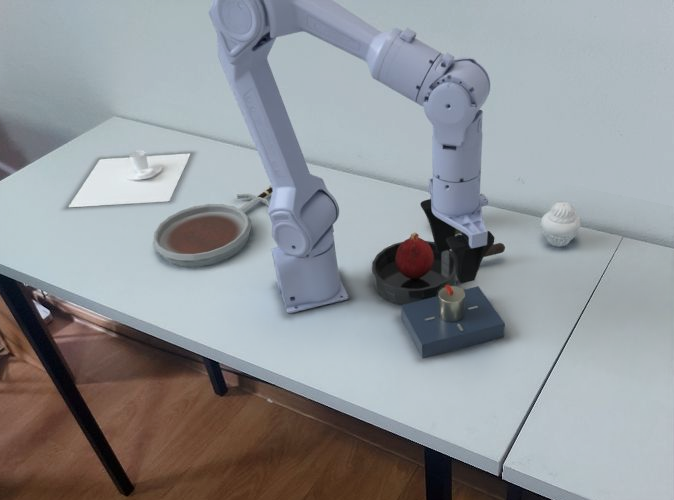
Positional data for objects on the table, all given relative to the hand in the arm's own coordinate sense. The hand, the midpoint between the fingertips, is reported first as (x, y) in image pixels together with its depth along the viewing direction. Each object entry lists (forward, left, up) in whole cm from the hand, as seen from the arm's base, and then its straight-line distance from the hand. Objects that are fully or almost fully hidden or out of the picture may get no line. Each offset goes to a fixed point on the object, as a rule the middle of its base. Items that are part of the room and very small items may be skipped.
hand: (455, 264), depth 88 cm
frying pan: (-28, +39, -10) cm, 49 cm away
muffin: (+23, +12, -10) cm, 28 cm away
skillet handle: (+9, +11, -9) cm, 17 cm away
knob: (-1, -1, -7) cm, 7 cm away
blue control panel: (-1, -1, -10) cm, 10 cm away
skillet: (-2, +11, -10) cm, 15 cm away
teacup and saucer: (-44, +65, -10) cm, 79 cm away
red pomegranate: (-2, +11, -10) cm, 15 cm away
